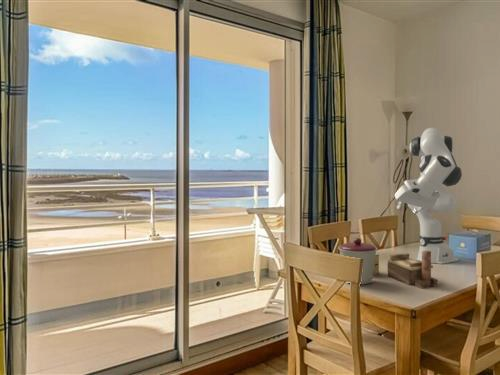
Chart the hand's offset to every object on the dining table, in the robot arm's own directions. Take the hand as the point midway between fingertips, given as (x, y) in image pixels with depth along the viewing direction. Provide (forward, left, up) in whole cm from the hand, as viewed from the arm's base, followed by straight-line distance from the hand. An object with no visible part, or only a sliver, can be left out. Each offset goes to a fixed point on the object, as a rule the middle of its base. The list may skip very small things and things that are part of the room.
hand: (406, 210), depth 194 cm
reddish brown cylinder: (-3, +10, -34) cm, 35 cm away
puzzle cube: (+10, -19, -34) cm, 40 cm away
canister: (+22, -7, -34) cm, 41 cm away
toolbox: (-3, +1, -34) cm, 34 cm away
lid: (-3, -1, -26) cm, 27 cm away
